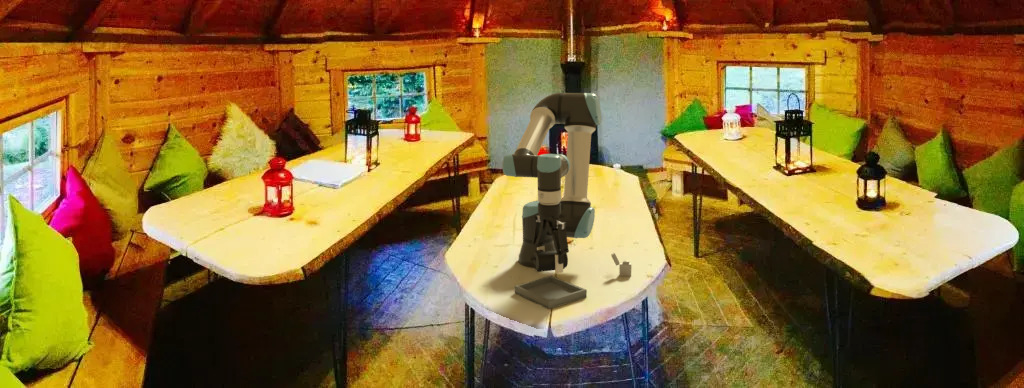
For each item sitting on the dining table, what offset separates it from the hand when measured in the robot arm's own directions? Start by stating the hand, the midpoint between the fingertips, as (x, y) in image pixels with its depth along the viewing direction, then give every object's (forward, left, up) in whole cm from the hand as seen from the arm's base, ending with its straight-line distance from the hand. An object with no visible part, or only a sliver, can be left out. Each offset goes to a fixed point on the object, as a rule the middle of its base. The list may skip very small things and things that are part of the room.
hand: (549, 269), depth 234 cm
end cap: (0, 0, -1) cm, 1 cm away
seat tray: (0, 0, -9) cm, 9 cm away
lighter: (+1, +32, -9) cm, 34 cm away
